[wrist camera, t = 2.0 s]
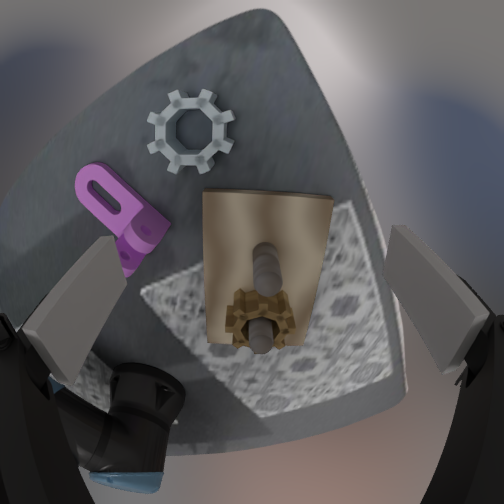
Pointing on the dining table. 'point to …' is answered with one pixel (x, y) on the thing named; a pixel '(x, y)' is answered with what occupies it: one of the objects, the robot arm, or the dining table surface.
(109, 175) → the bracket
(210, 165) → the gear
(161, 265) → the dining table surface
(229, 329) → the gear board
